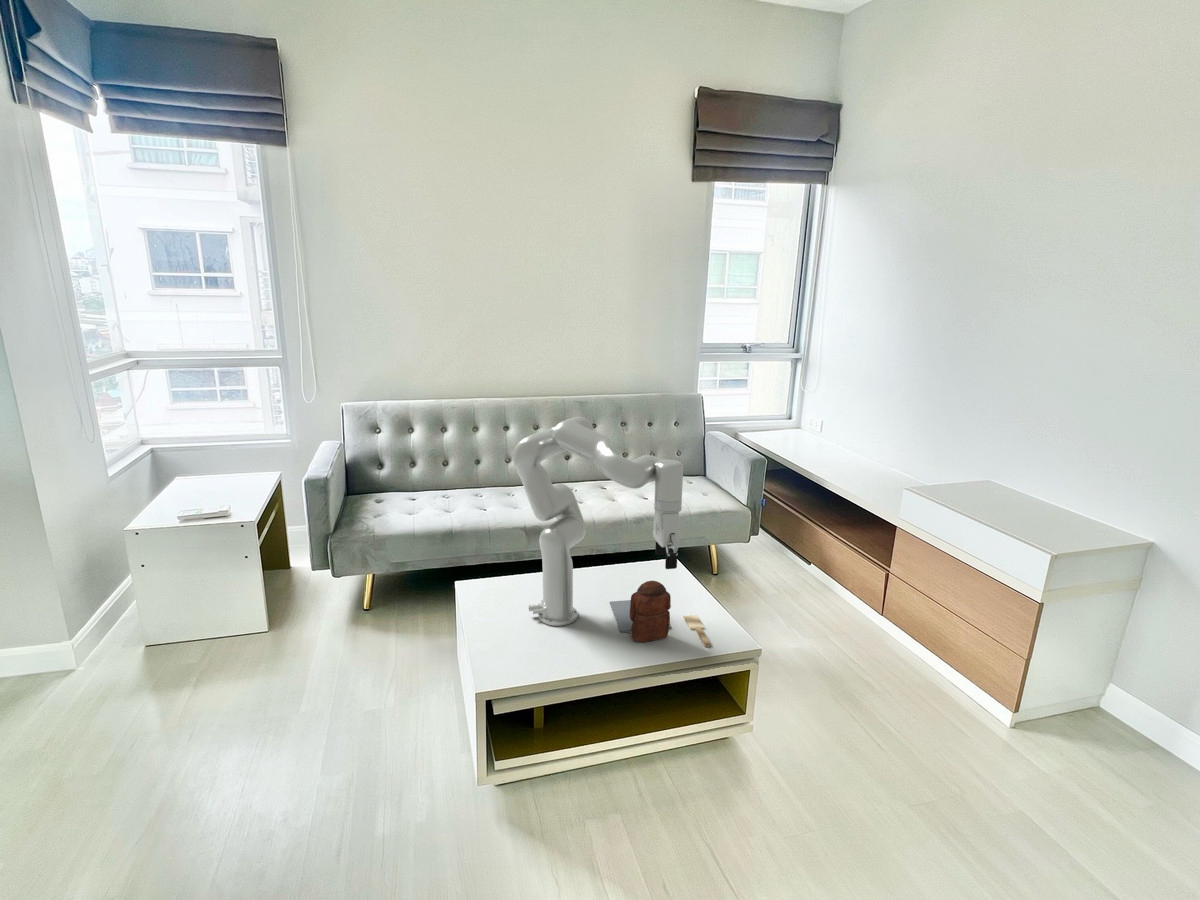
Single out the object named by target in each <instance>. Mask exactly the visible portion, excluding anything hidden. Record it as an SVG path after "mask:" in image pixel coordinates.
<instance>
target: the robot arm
mask: <svg viewBox="0 0 1200 900" xmlns="http://www.w3.org/2000/svg"><path fill="white" fill-rule="evenodd" d="M593 426H594V425H593V424H592V422H591V421H590V420H589V419H588V418H587V417H586V418H585V417H583V416H573V417H571V418H568V419H564V420H562V421H560V422H559V423H557V424H556V425H555V426H554V427H551V428H549V429H546V430H542V431H539V432H535V433H532V434H530V435H528V436H526V437H524V438H522V439H521V440H520V441H519V442H518V443H517V444H516V446H515V448H514V450H513V455H512V458H513V459H512V461H513V465H514V468H515V470H516V473H517V475H518V477H519V478H520V481H521V483H522V486H523V489H524V492H525V493H526V496H527V500H528V502H529V505H530V508H531V510H532V513H533V515H534V516H535V518H536V519H538V520H539V521H542V522H546V521H550V520H553V519H554V518H555V519H556V520H555V521H553V522H552V523H551V524H550V523H549V524H548V525H547V526H546V527H545V528H544V529H543V530H542V531H541V532H540V535H539V541H538V542H539V547H540V554H541V559H542V560H541V561H542V564H541V565H542V600H541V603H538V604H529V605H528V612H532V615H537V617H538V620H539V621H540V622H541V623H543V624H546V625H548V626H554V627H556V626H557V627H561V626H562V627H563V626H567V625H569V624H571V623H574V622H575V621H576V620H577V618H578V614H579V613H578V610H577V608H575V607H573V606H574V603H573V602H574V601H573V600H574V594H573V593H574V591H573V590H574V586H573V585H574V566H573V565H574V564H573V559H572V556H571V554H570V550H571V549H572V548H573V547H574V546H576V545H577V544H578V543H579V542H581V541H582V540H583V539H584V537H585V535H586V533H587V532H586V531H587V528H586V523H585V521H584V517H583V515H582V512H581V510H580V509H581V508H580V506H579V504H578V501H577V498H576V496H575V493H574V492H573V490H571V488H570V487H569V486H567V485H566V484H564V483H554V484H553V483H552V480H551V478H550V475H549V473H548V471H547V470H546V468H545V467H544V466H543V465H542V464H541V462H542V461H544V460H548V459H550V458H552V457H554V456H557V455H560V454H562V453H564V452H570V453H572V454H574V455H576V456H578V457H580V458H582V459H585V460H586V461H589V462H590V463H593V464H594V465H595V466H596V468H597V469H598V471H600V473H602V475H603V476H605V477H606V478H607V479H609V480H611V481H614V482H615V483H617V484H618V485H621V486H624V487H625V488H628V489H633V490H634V489H640V488H643V487H644V486H646V485H647V484H649V483H652V482H654V502H653V504H654V507H653V508H654V516H653V517H654V518H653V531H652V536H653V538H654V540H655V552H654V553H655V555H656V556H662V555H664V556H665V569H666V570H673V569H675V570H676V569H677V568H678V555H679V548H680V547H679V542H680V514H679V513H680V512H681V511H682V507H683V506H682V502H683V483H684V482H683V481H684V480H683V478H684V465H683V464H682V462H681V461H679V460H675V459H668V458H666V459H664V458H661V457H658V456H655V455H652V454H643V455H642V456H640V457H637V458H635V459H633V460H630V459H628V458H625V457H622V456H620V455H619V454H617V453H615V452H614V451H613V450H612V449H611V447H610V446H611V443H610V442H611V441H610V439H609V437H608V436H606V435H604V434H601V433H599V432H598V431H595V430H594V427H593ZM670 548H671V549H670Z"/></svg>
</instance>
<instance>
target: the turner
mask: <svg viewBox="0 0 1200 900" xmlns="http://www.w3.org/2000/svg"><path fill="white" fill-rule="evenodd" d="M682 617H683V620H684V621H685V623H686V625H687V626H688V628H689V630H690V631H695V632H696V634H697V636H698V637H699V639H700V641H701V643H702V644H703V646H704V647H705V648H710V646H711V645H712V643H711V642H710V640H709V638H708V637H707V635H706V634H705V632H704V631H703V630H705V626H704V624H703V623H702V622H701V620H700V619H699V617H698V616H697V614H693V615H692V614H690V615H689V614H688V615H683V616H682ZM711 647H712V646H711Z"/></svg>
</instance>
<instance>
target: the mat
mask: <svg viewBox="0 0 1200 900" xmlns="http://www.w3.org/2000/svg"><path fill="white" fill-rule="evenodd" d="M630 602H631V599H628V600H614V601H613V600H612V601H609V605H610V608H611V611H612V614H613V616H614V619H615V623H616V624H617V627H618V630H619V633H631V627H632V623H633V621H631V619H630ZM669 630H672V625H670V626H669Z"/></svg>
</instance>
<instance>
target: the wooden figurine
mask: <svg viewBox="0 0 1200 900" xmlns="http://www.w3.org/2000/svg"><path fill="white" fill-rule="evenodd" d="M630 600H631V602H630V619H631V621H633V623H632V627H631V632H630V638H631V639H632V640H633V641H634V642H637V643H647V642H651V641H657V640H662V639H666V638H667V637H668V635H669V631H670V629H669V626H671V617H670V616H671V615H670V609H671V608H672V604H671V602H672V601H671V600H672V599H671V594H670V592H668V591H667V589H666V587H665V586H664V584H662V583H661V582H659V581H657V580H648V581H645V582H643V583H642V584H640V586H638V588H637V589H636V592H633V593H632V594H631V597H630Z"/></svg>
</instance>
